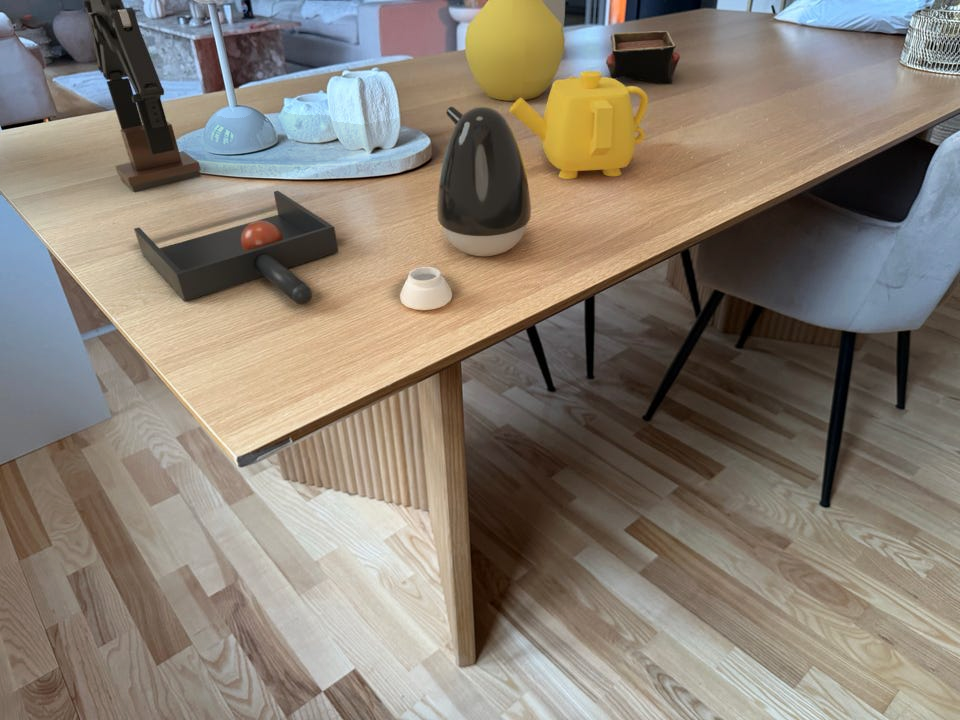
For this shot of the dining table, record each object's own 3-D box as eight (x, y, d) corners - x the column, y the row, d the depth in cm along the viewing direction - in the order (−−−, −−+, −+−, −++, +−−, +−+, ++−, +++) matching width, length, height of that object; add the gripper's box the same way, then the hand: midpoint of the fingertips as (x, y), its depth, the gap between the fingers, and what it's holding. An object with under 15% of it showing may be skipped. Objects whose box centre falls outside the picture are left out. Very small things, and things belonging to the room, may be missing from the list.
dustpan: (142, 254, 79) (133, 228, 77) (282, 214, 88) (277, 190, 86) (222, 345, 63) (214, 314, 61) (385, 285, 72) (382, 257, 70)
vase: (509, 113, 123) (508, -88, 106) (447, 94, 135) (437, -89, 118) (582, 94, 132) (592, -93, 115) (518, 78, 144) (519, -93, 127)
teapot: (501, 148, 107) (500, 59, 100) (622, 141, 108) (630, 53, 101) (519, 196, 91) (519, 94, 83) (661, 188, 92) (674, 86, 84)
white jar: (404, 316, 66) (456, 309, 67) (401, 289, 65) (454, 282, 65) (398, 291, 70) (447, 285, 71) (395, 265, 69) (445, 259, 69)
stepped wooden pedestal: (122, 188, 97) (102, 128, 93) (189, 172, 102) (173, 115, 97) (135, 201, 93) (115, 139, 88) (204, 184, 98) (189, 124, 93)
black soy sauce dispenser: (487, 220, 85) (484, 89, 76) (549, 246, 78) (553, 106, 69) (420, 245, 79) (409, 107, 71) (480, 276, 73) (476, 128, 64)
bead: (258, 275, 75) (243, 257, 78) (294, 257, 77) (278, 240, 79) (243, 242, 72) (228, 224, 75) (282, 224, 73) (265, 207, 76)
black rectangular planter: (600, 95, 139) (607, 43, 132) (607, 61, 152) (614, 12, 145) (673, 102, 137) (684, 50, 130) (674, 67, 150) (684, 18, 143)
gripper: (158, -40, 75) (207, 155, 87) (99, -50, 92) (147, 115, 104) (84, -34, 72) (146, 169, 84) (36, -46, 88) (94, 125, 100)
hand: (147, 140), depth 94 cm, fingers open, 13 cm apart
